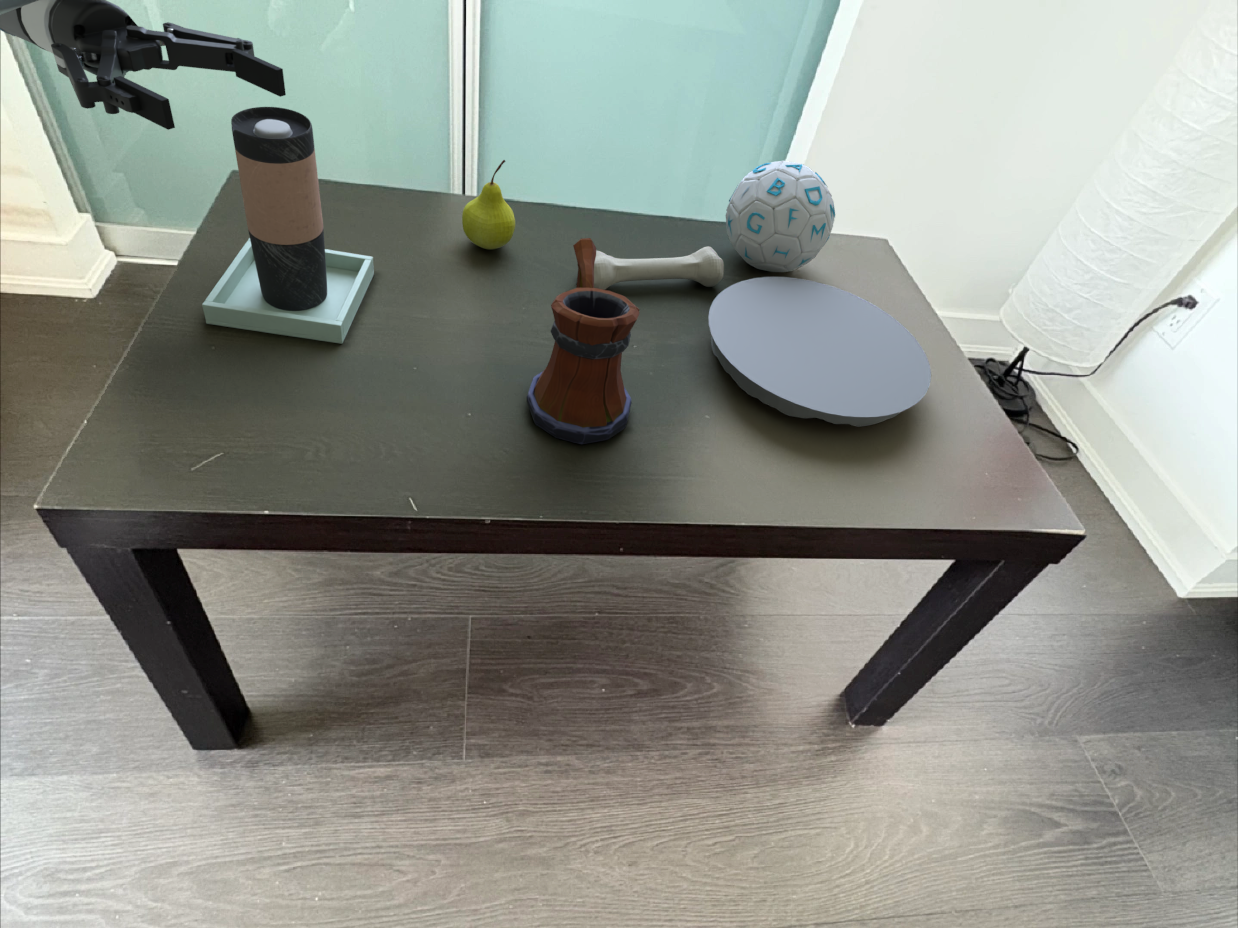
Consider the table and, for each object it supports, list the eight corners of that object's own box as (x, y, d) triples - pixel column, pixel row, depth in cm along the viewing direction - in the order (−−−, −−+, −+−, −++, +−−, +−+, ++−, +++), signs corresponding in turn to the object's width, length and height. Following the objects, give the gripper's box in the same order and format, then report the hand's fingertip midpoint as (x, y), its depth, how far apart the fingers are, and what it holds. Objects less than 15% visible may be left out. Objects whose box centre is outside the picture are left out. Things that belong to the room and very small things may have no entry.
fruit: (468, 261, 104) (472, 174, 95) (455, 234, 108) (457, 148, 100) (518, 257, 106) (526, 173, 98) (503, 231, 111) (510, 147, 102)
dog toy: (585, 299, 102) (591, 266, 99) (573, 274, 106) (578, 240, 102) (724, 294, 109) (734, 263, 105) (708, 270, 113) (717, 239, 109)
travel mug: (343, 289, 94) (329, 121, 80) (302, 320, 89) (279, 147, 75) (288, 268, 95) (264, 99, 81) (244, 297, 90) (211, 122, 76)
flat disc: (749, 454, 86) (761, 424, 83) (670, 305, 105) (678, 276, 101) (957, 437, 95) (975, 410, 92) (851, 303, 113) (863, 276, 110)
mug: (522, 339, 94) (534, 225, 84) (616, 346, 96) (639, 235, 86) (527, 444, 82) (541, 326, 71) (635, 449, 84) (665, 335, 73)
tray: (342, 343, 88) (340, 325, 86) (206, 323, 86) (201, 304, 84) (374, 274, 98) (373, 256, 96) (253, 254, 97) (249, 236, 95)
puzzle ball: (830, 270, 119) (869, 176, 108) (780, 304, 110) (817, 205, 99) (748, 226, 124) (777, 132, 114) (694, 256, 115) (720, 156, 105)
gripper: (192, 45, 95) (324, 105, 90) (-24, 92, 79) (123, 170, 73) (178, -25, 90) (318, 35, 85) (-56, 10, 73) (100, 86, 68)
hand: (228, 97), depth 79 cm, fingers open, 13 cm apart
